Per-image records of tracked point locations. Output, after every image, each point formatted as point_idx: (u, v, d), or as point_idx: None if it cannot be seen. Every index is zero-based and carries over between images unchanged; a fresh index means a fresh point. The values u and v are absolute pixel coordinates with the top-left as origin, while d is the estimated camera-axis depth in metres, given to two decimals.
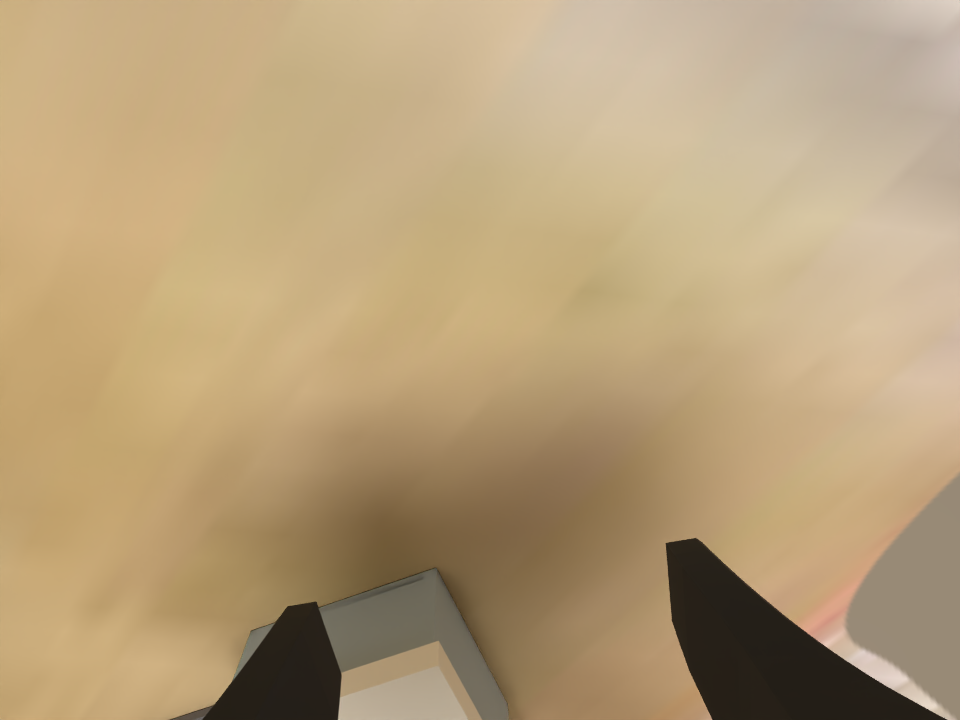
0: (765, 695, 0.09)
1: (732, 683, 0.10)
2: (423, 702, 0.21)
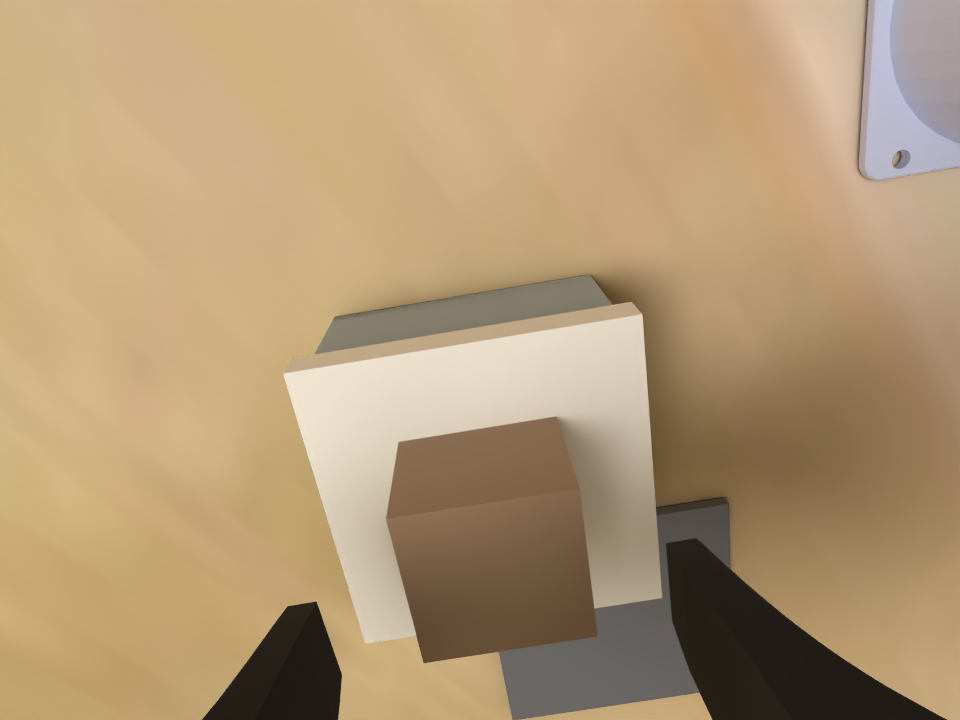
0: (765, 695, 0.09)
1: (733, 683, 0.10)
2: (346, 403, 0.16)
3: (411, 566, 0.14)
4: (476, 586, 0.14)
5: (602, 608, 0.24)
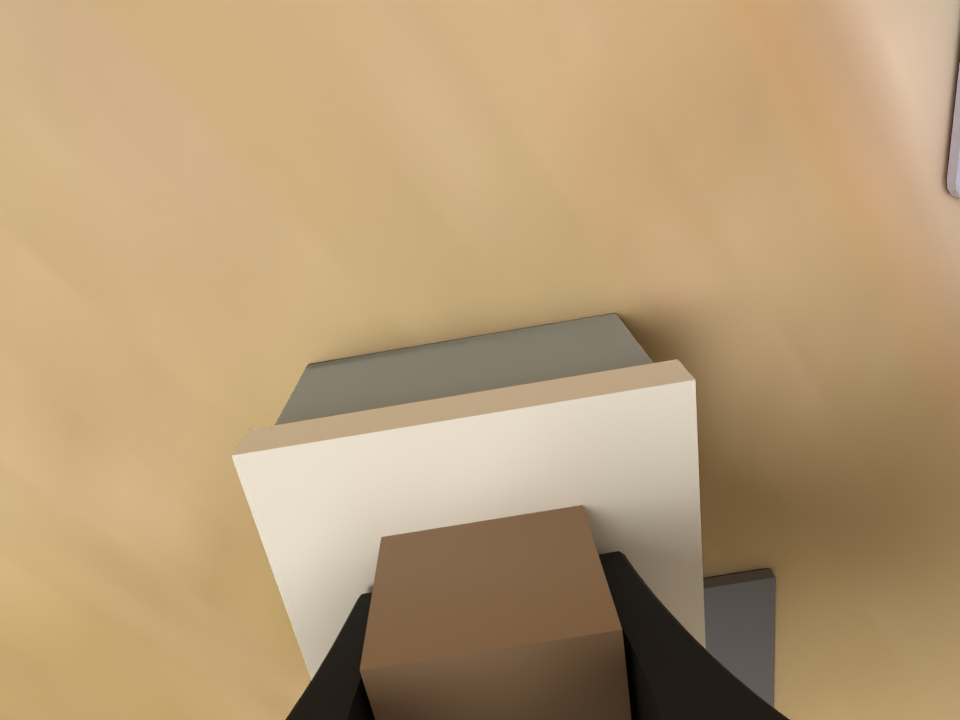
0: (656, 712, 0.09)
1: (638, 698, 0.10)
2: (313, 491, 0.12)
3: None
4: None
5: None
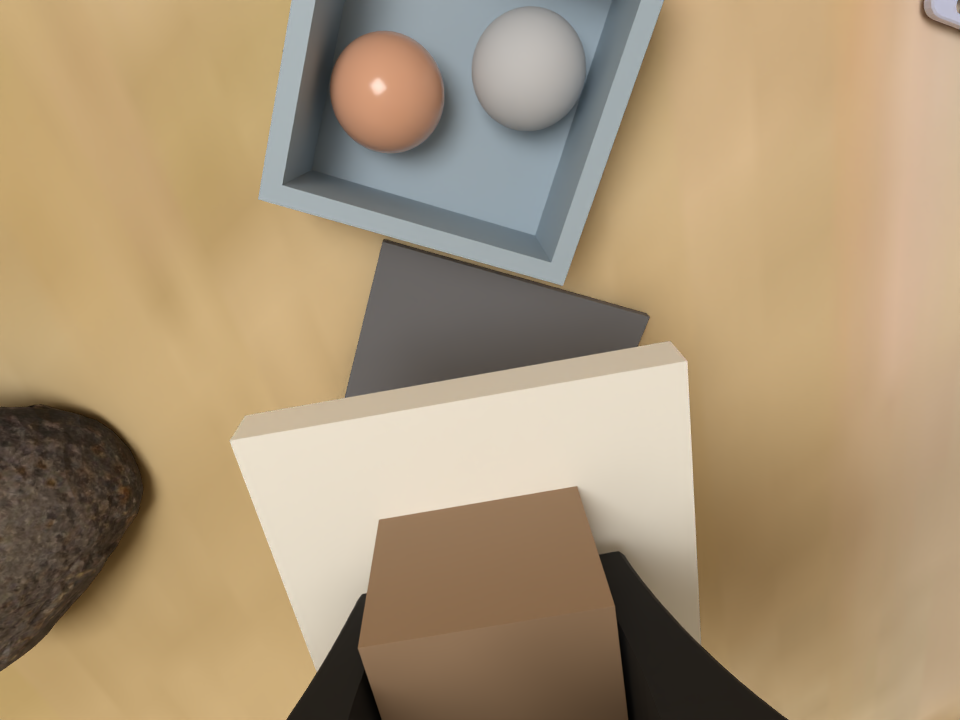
0: (654, 713, 0.09)
1: (637, 698, 0.10)
2: (311, 475, 0.12)
3: (394, 702, 0.10)
4: None
5: None
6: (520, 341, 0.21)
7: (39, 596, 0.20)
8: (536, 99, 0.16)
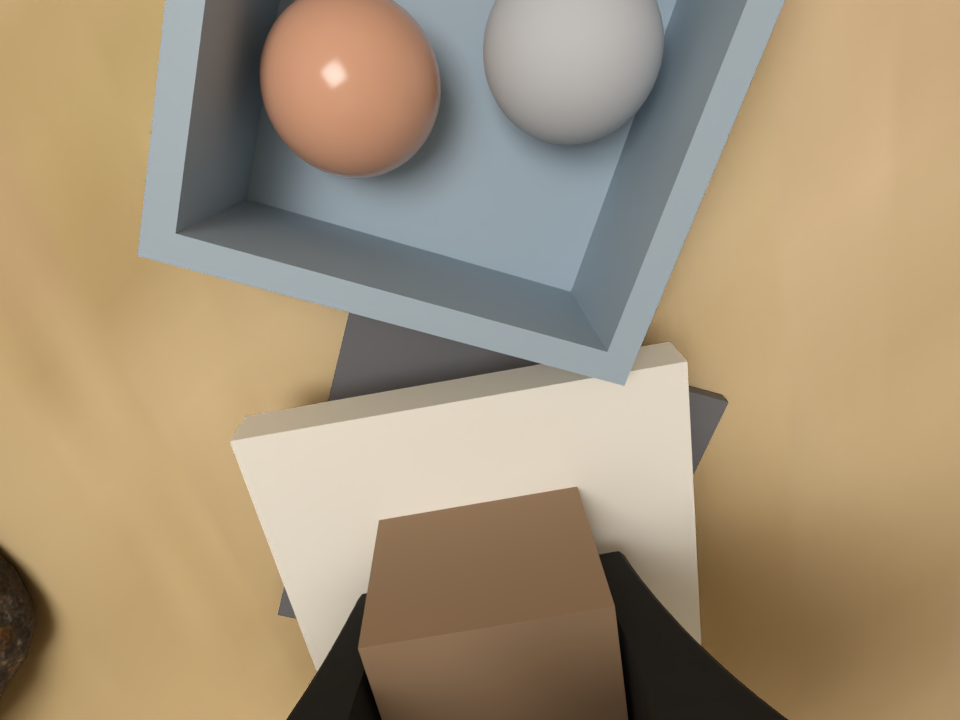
0: (655, 713, 0.09)
1: (637, 699, 0.10)
2: (311, 476, 0.12)
3: (394, 703, 0.10)
4: None
5: None
6: None
7: None
8: (588, 95, 0.10)
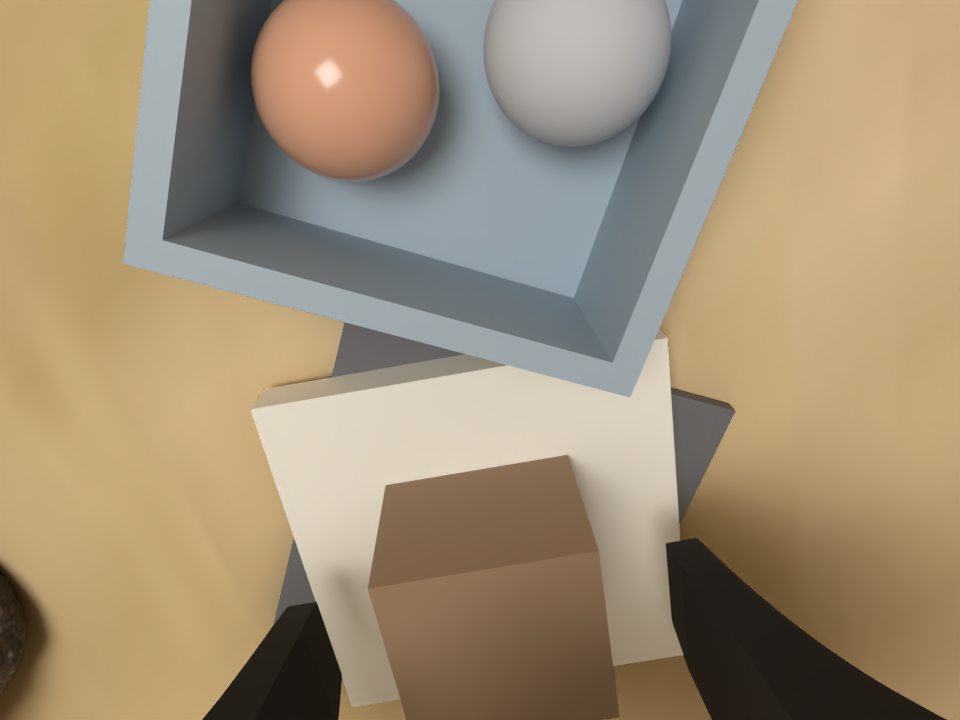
0: (765, 695, 0.09)
1: (732, 683, 0.10)
2: (324, 443, 0.14)
3: (399, 642, 0.12)
4: (476, 664, 0.12)
5: None
6: None
7: None
8: (593, 96, 0.10)
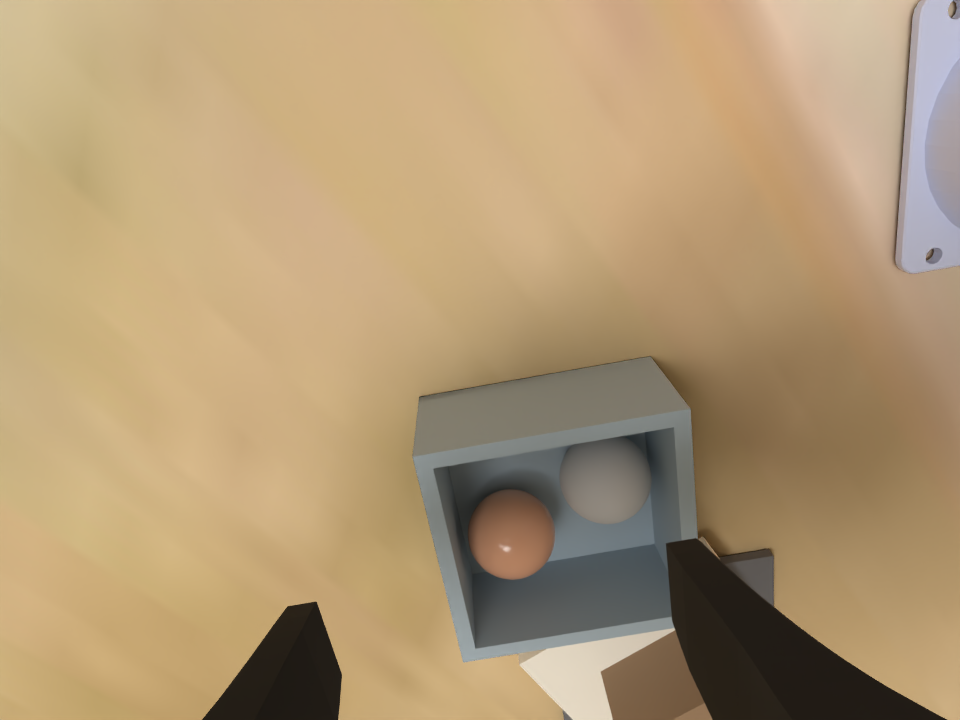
0: (765, 695, 0.09)
1: (732, 683, 0.10)
2: (561, 665, 0.25)
3: None
4: None
5: None
6: None
7: None
8: (624, 515, 0.20)
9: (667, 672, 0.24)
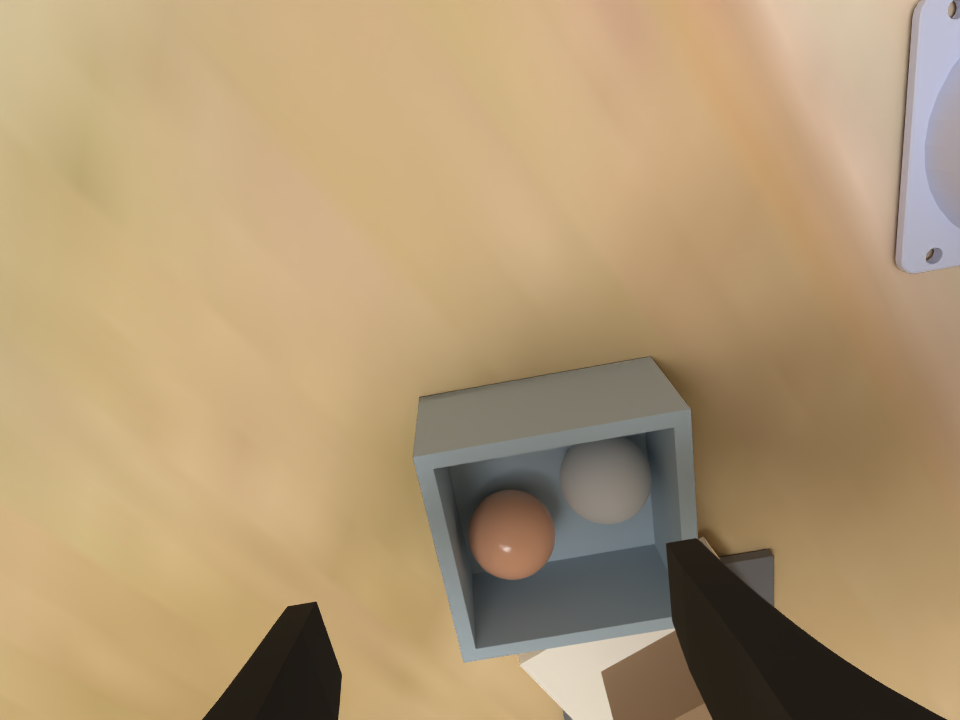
0: (765, 695, 0.09)
1: (732, 683, 0.10)
2: (561, 665, 0.25)
3: None
4: None
5: None
6: None
7: None
8: (624, 516, 0.20)
9: (667, 672, 0.24)
